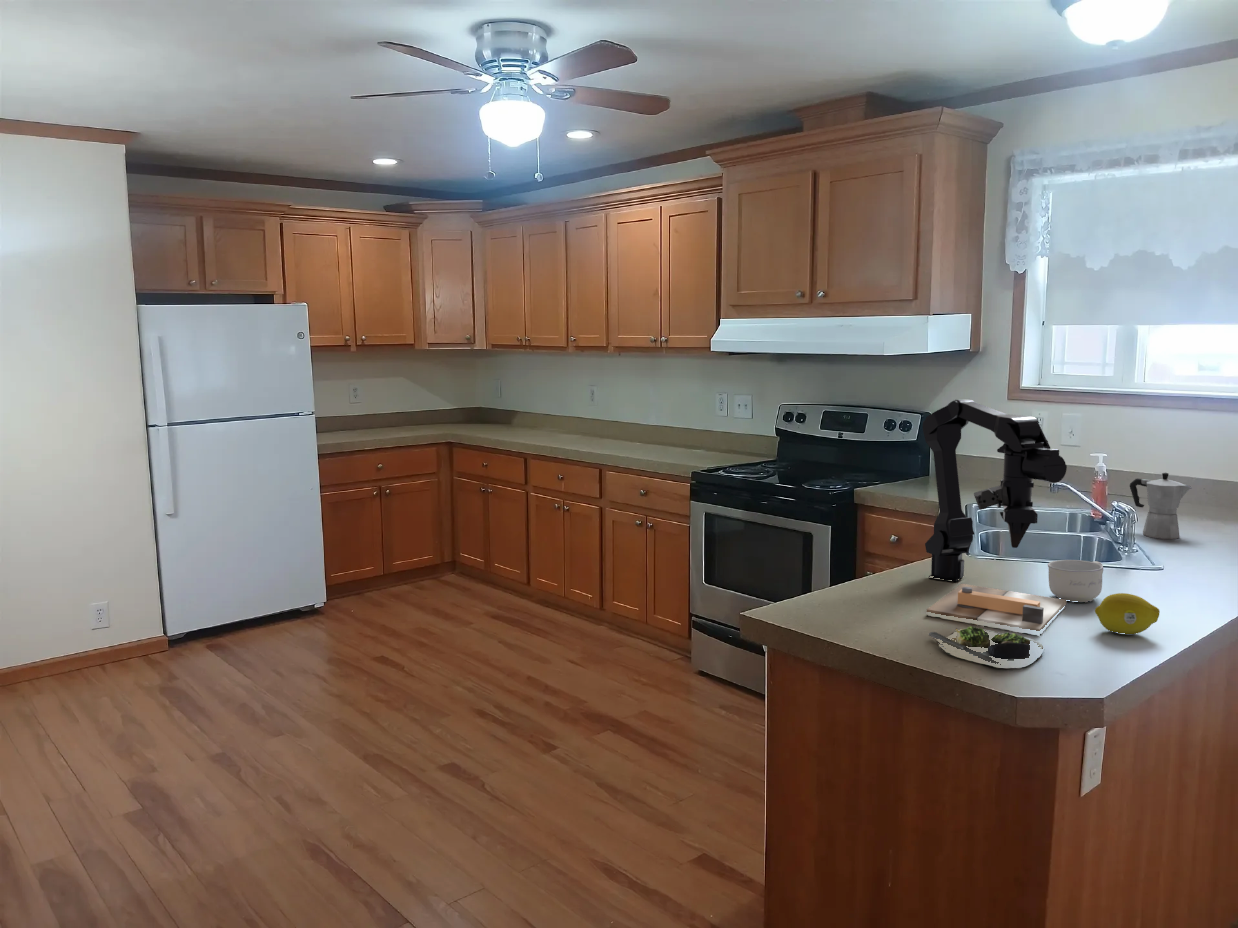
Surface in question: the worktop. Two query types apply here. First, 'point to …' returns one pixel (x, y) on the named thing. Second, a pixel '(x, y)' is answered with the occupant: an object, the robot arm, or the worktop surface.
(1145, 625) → the lemon
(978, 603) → the bar
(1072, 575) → the teacup
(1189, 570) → the worktop surface
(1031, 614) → the door and jamb
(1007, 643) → the salad plate
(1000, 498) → the robot arm
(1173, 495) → the coffeepot
